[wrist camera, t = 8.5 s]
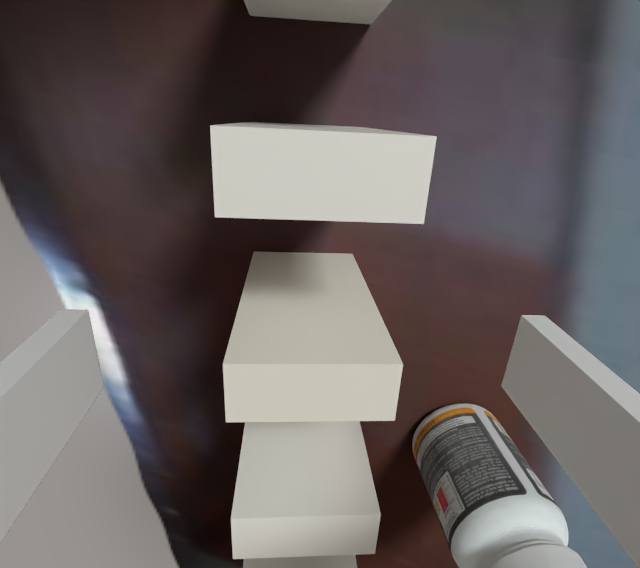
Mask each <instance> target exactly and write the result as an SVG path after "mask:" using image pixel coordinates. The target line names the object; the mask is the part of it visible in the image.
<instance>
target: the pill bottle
mask: <svg viewBox="0 0 640 568" xmlns="http://www.w3.org/2000/svg"><path fill="white" fill-rule="evenodd" d="M412 449H413V454H414V458H415V460H416V463H417V466H418V469H419V471H420V473H421V476H422V479H423V481H424V484H425V486H426V489H427V492H428V494H429V497H430V500H431V503H432V505H433V508H434V510H435V512H436V515H437V518H438V520H439V523H440V525H441V528H442V530H443V533H444V536H445V538H446V541H447V543H448V546H449V550H450V552H451V554H452V556H453V558H454V560H455V562H456V563H457V565H458V567H459V568H587V567H586V565H585V564H584V562H583V560H582V559H581V557H580V556H579V555H578V554H577V553H576V552H575V551H573V550H572V549H570V548H569V547H567V545H568V528H567V524H566V521H565V518H564V516H563V514H562V512H561V510H560V509H559V507H558V506H557V504H556V503H555V502H554V500H553V499H552V497H551V496H550V494H549V493H548V492H547V490H546V489H545V487H544V486H543V485H542V483H541V482H540V480H539V479H538V478H537V476H536V475H535V473H534V472H533V470H532V469H531V468H530V466H529V465H528V463H527V462H526V460H525V459H524V457H523V456H522V455H521V453H520V452H519V450H518V449H517V447H516V446H515V444H514V443H513V441H512V440H511V438H510V437H509V436H508V434H507V433H506V432H505V430H504V428H503V427H502V426H501V425H500V423H499V422H498V421H497V419H496V418H495V417H494V416H493V415H492V414H491V413H490V412H489V411H487V410H486V409H484V408H482V407H480V406H477V405H474V404H468V403H462V404H452V405H448V406H444V407H442V408H439V409H437V410H435V411H434V412H432V413H431V414H430V415H428V416H427V417H426V418H425V419H424V420H423V421H422V422H421V423H420V425H419V426H418V428H417V429H416V431H415V434H414V436H413V442H412Z"/></svg>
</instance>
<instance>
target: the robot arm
mask: <svg viewBox="0 0 640 568" xmlns="http://www.w3.org/2000/svg"><path fill="white" fill-rule="evenodd" d="M103 388H104V384H103V379H102V375H101V370H100V365H99V360H98V355H97V350H96V346H95V341H94V336H93V331H92V326H91V321H90V317H89V312H88V310H62V309H61V310H59V311H58V312H57V313H56V314H55V315H54V316H53V317H51V318H50V319H49V320H48V321H47V322H46V323H44V324H43V325H42V326H41V327H40V328H39V329H38V330H37V331H35V332H34V333H33V334H32V335H31V336H30V337H29V338H27V339H26V340H25V341H24V342H23V343H22V344H21V345H20V346H19V347H17V348H16V349H15V350H14V351H13V352H12V353H11V354H10V355H8V356H7V357H6V358H5V359H4V360H3V361H1V362H0V543H1V541H2V540H3V538H4V537H5V535H6V534H7V532H8V531H9V529H10V528H11V526H12V525H13V523H14V522H15V520H16V519H17V517H18V516H19V514H20V513H21V511H22V510H23V508H24V507H25V505H26V504H27V502H28V501H29V499H30V498H31V496H32V495H33V493H34V492H35V490H36V489H37V487H38V486H39V484H40V483H41V481H42V480H43V478H44V477H45V475H46V473H47V472H48V471H49V469H50V468H51V466H52V464H53V463H54V461H55V460H56V459H57V457H58V456H59V454H60V453H61V451H62V450H63V448H64V447H65V445H66V443H67V442H68V441H69V439H70V438H71V436H72V434H73V433H74V432H75V430H76V429H77V427H78V425H79V424H80V422H81V421H82V419H83V418H84V416H85V415H86V413H87V412H88V410H89V409H90V407H91V406H92V404H93V403H94V401H95V400H96V398H97V397H98V395H99V394H100V392H101V391H102V389H103ZM502 388H503V389H504V390H505V392H506V393H507V394H508V396H509V397H510V398H511V400H512V401H513V402H514V404H515V405H516V406H517V408H518V409H519V410H520V412H521V413H522V414H523V416H524V417H525V418H526V420H527V421H528V422H529V424H530V425H531V426H532V428H533V429H534V430H535V432H536V433H537V434H538V436H539V437H540V438H541V440H542V441H543V442H544V444H545V445H546V446H547V448H548V449H549V450H550V452H551V453H552V454H553V456H554V457H555V458H556V460H557V461H558V462H559V464H560V465H561V466H562V468H563V469H564V470H565V472H566V473H567V474H568V476H569V477H570V478H571V480H572V481H573V482H574V484H575V485H576V486H577V488H578V489H579V490H580V491H581V493H582V494H583V495H584V497H585V498H586V499H587V501H588V502H589V503H590V505H591V506H592V507H593V509H594V510H595V511H596V513H597V514H598V515H599V517H600V518H601V519H602V521H603V522H604V523H605V525H606V526H607V527H608V529H609V530H610V531H611V533H612V534H613V535H614V537H615V538H616V539H617V541H618V542H619V543H620V545H621V546H622V547H623V549H624V550H625V551H626V553H627V554H628V555H629V557H630V558H631V559H632V561H633V562H634V563H635V565H636V566H637V567H638V568H640V394H639V393H638V392H637V391H635V390H634V389H633V388H632V387H630V386H629V385H628V384H627V383H626V382H624V381H623V380H622V379H621V378H620V377H618V376H617V375H616V374H615V373H614V372H612V371H611V370H610V369H609V368H608V367H606V366H605V365H604V364H603V363H601V362H600V361H599V360H598V359H597V358H595V357H594V356H593V355H592V354H591V353H589V352H588V351H587V350H586V349H585V348H583V347H582V346H581V345H580V344H578V343H577V342H576V341H575V340H574V339H572V338H571V337H570V336H569V335H568V334H566V333H565V332H564V331H563V330H562V329H560V328H559V327H558V326H557V325H555V324H554V323H553V322H552V321H551V320H549V319H548V318H547V317H546V316H542V315H521V319H520V322H519V326H518V330H517V333H516V337H515V340H514V344H513V347H512V351H511V354H510V358H509V361H508V365H507V368H506V372H505V375H504V379H503V382H502Z"/></svg>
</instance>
